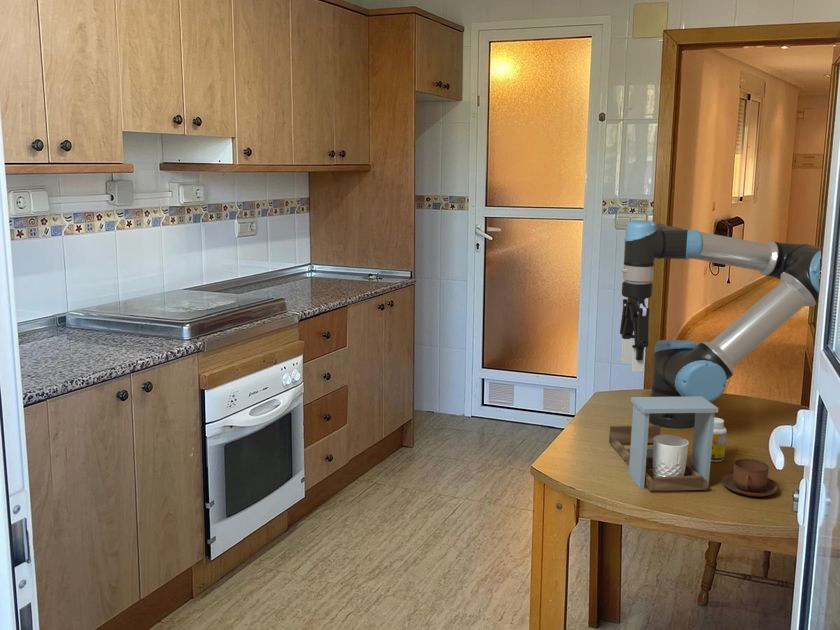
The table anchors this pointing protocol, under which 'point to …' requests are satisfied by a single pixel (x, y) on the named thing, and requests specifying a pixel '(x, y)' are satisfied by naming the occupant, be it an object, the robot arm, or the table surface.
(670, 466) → the white cup
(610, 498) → the table surface
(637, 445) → the tunnel
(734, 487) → the cup and saucer
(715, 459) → the supplement bottle
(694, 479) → the wooden serving tray
